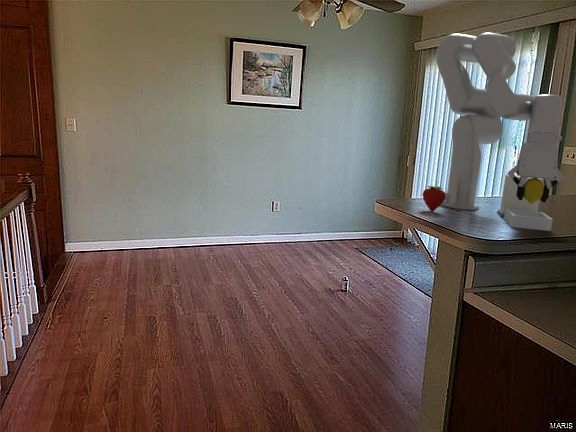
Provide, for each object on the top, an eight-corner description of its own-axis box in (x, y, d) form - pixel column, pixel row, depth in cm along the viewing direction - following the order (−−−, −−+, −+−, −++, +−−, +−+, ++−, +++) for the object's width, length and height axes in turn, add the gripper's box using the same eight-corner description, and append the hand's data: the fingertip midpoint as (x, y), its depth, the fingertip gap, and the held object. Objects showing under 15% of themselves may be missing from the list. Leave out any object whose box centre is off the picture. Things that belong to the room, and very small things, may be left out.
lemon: (534, 202, 140) (538, 176, 138) (545, 205, 135) (549, 178, 133) (516, 201, 140) (520, 175, 138) (527, 205, 134) (531, 177, 133)
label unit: (501, 217, 148) (507, 176, 145) (497, 213, 155) (503, 174, 152) (538, 221, 146) (546, 179, 143) (532, 216, 152) (539, 177, 150)
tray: (510, 226, 135) (512, 215, 134) (503, 219, 145) (505, 208, 144) (550, 231, 133) (552, 219, 132) (540, 223, 143) (542, 212, 142)
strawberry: (425, 208, 156) (429, 178, 154) (446, 212, 152) (450, 182, 149) (417, 210, 152) (420, 180, 150) (438, 214, 147) (442, 183, 145)
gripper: (570, 140, 135) (559, 201, 139) (506, 136, 139) (497, 196, 143) (579, 141, 128) (567, 205, 132) (512, 137, 132) (502, 199, 135)
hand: (531, 199), depth 137 cm, fingers closed on lemon, 5 cm apart
